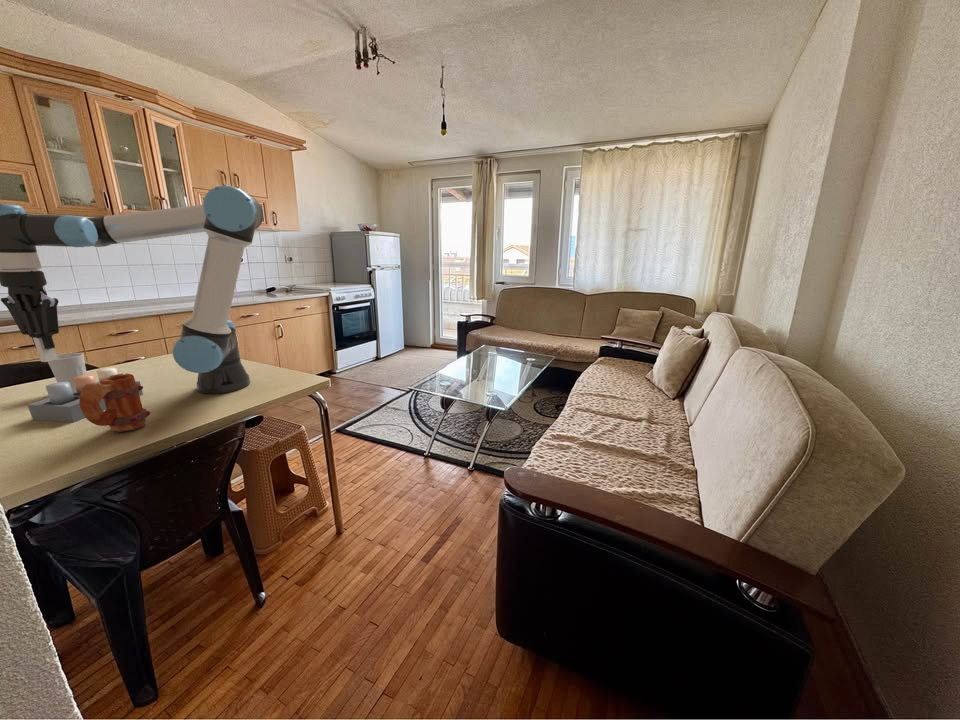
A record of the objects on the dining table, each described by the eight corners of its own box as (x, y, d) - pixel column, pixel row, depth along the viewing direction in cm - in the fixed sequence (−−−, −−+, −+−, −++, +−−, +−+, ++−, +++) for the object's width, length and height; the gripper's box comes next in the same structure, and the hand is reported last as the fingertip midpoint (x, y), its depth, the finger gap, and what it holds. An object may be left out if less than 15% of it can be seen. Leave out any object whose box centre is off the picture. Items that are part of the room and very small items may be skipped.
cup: (70, 397, 116) (58, 360, 112) (51, 394, 117) (39, 358, 114) (100, 388, 123) (90, 353, 120) (81, 386, 125) (71, 351, 121)
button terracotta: (103, 390, 111) (98, 374, 109) (87, 395, 106) (82, 379, 105) (89, 389, 111) (84, 373, 109) (73, 395, 107) (67, 378, 105)
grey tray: (143, 394, 119) (139, 381, 118) (74, 422, 100) (69, 406, 99) (108, 392, 120) (104, 379, 118) (32, 419, 101) (27, 404, 99)
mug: (128, 420, 102) (114, 368, 97) (160, 419, 103) (147, 368, 98) (77, 447, 88) (58, 388, 84) (114, 446, 89) (97, 388, 84)
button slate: (79, 398, 104) (74, 382, 103) (61, 404, 100) (55, 387, 99) (64, 397, 105) (59, 381, 103) (46, 404, 100) (40, 387, 99)
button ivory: (124, 382, 117) (120, 367, 115) (110, 387, 113) (106, 372, 111) (111, 382, 117) (107, 367, 116) (96, 387, 113) (92, 371, 111)
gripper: (61, 270, 95) (87, 357, 102) (14, 268, 96) (43, 355, 103) (25, 271, 88) (55, 365, 95) (-25, 270, 89) (9, 363, 96)
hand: (49, 360), depth 99 cm, fingers closed
